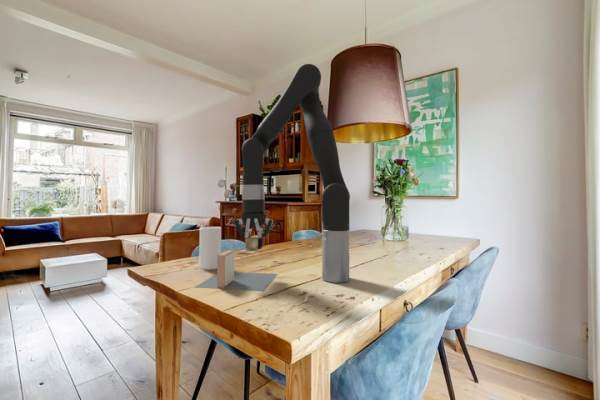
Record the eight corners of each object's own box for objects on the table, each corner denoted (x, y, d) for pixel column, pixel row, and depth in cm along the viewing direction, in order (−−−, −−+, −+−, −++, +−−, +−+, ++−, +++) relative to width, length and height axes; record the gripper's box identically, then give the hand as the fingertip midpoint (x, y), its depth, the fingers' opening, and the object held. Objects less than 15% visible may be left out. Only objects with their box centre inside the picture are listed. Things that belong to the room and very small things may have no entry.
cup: (217, 270, 108) (217, 228, 108) (196, 269, 108) (196, 228, 108) (223, 265, 116) (223, 226, 116) (203, 264, 116) (203, 226, 116)
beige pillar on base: (265, 246, 100) (265, 235, 100) (253, 254, 86) (253, 241, 86) (251, 246, 101) (251, 235, 101) (238, 254, 87) (237, 241, 87)
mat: (277, 274, 102) (277, 274, 102) (263, 292, 83) (263, 291, 83) (220, 272, 105) (220, 271, 105) (194, 288, 86) (194, 287, 86)
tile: (234, 280, 94) (234, 250, 94) (224, 287, 86) (225, 255, 86) (227, 279, 94) (227, 250, 94) (217, 287, 86) (217, 255, 86)
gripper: (276, 198, 98) (276, 247, 98) (237, 198, 100) (238, 246, 100) (271, 198, 91) (272, 251, 91) (229, 198, 93) (230, 250, 93)
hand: (254, 248), depth 96 cm, fingers closed on beige pillar on base, 3 cm apart
